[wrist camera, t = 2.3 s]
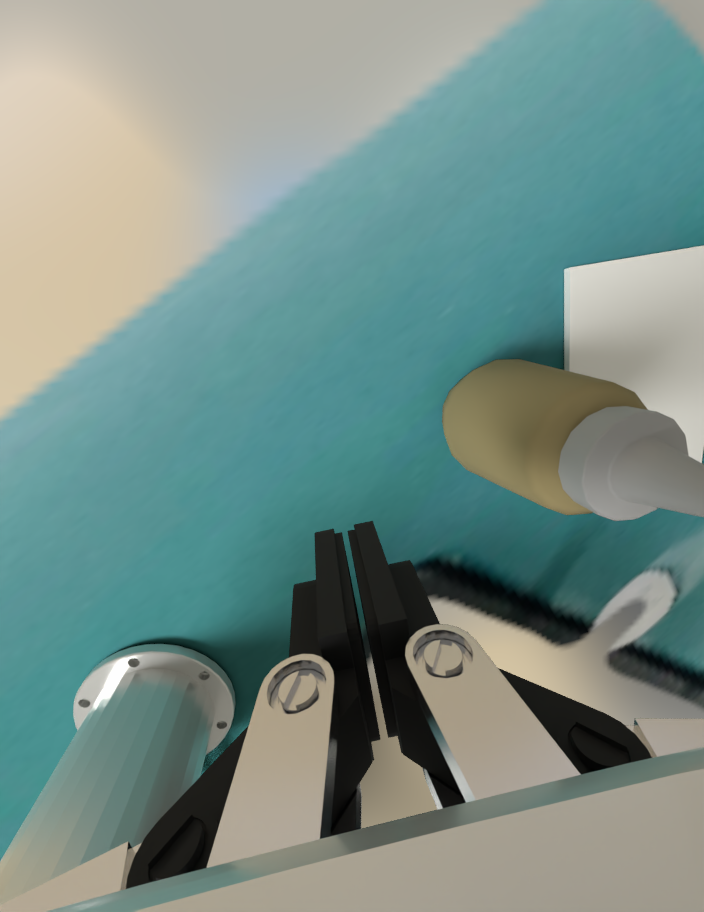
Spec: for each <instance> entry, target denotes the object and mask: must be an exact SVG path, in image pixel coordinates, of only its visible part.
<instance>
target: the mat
mask: <svg viewBox="0 0 704 912" xmlns="http://www.w3.org/2000/svg"><path fill="white" fill-rule="evenodd" d="M564 370H566V371H570V372H574V373H578V374H582V375H586V376H590V377H594V378H598V379H602V380H606V381H611V382H614V383H616V384H618V385H620V386H623V387H625V388H627V389H629V390H631V391H633V392H635V393H636V394H637V396H638V397H639V398H640V400H641V401H642V402H643V404H644V405H645V407H646V408H647V409H648V410H651V411H657V412H659V413H661V414H663V415H666V416H668V417H670V418H672V419H674V420H675V421H676V423H677V424H678V425H679V427H680V428H681V430H682V431H683V432H684V434H685V436H686V442H687V448H688V455H689V457H691V458H693V459H695V460H697V461H699V462H700V463H702V456H703V448H704V246H698V247H692V248H686V249H680V250H674V251H668V252H662V253H656V254H649V255H643V256H637V257H631V258H625V259H619V260H613V261H607V262H601V263H595V264H589V265H583V266H577V267H571V268H567V269H564Z"/></svg>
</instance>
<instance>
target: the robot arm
mask: <svg viewBox="0 0 704 912" xmlns="http://www.w3.org/2000/svg"><path fill="white" fill-rule="evenodd" d="M354 528H355V530H351V531H348V536H349V541H350V546H351V551H352V556H353V562H354V567H355V572H356V577H357V582H358V588H359V593H360V598H361V603H362V608H363V614H364V619H365V624H366V629H367V634H368V639H369V644H370V649H371V654H372V659H373V664H374V669H375V673H376V679H377V683H378V689H379V693H380V699H381V703H382V708H383V713H384V718H385V724H386V729H387V734H388V737H394V736H398V739H399V744H400V748H401V752H402V753H403V754H404V755H405V756H407V757H408V758H409V759H411V760H412V761H414V762H415V763H417V764H418V765H420V766H421V767H423V772H424V775H425V779H426V782H427V784H428V787H429V789H430V792H431V794H432V797H433V799H434V802H435V804H436V806H437V809H438V810H434V811H430V812H427V813H422V814H418V815H415V816H410V817H406V818H402V819H398V820H394V821H390V822H386V823H383V824H378V825H374V826H370V827H366V828H362V829H361V788H360V781H361V780H362V778H363V776H364V775H365V773H366V772H367V770H368V768H369V767H370V765H371V763H372V760H374V757H373V751H372V745H371V742H372V741H376V740H380V735H379V729H378V723H377V717H376V712H375V707H374V701H373V695H372V690H371V684H370V678H369V673H368V667H367V662H366V656H365V651H364V645H363V639H362V634H361V628H360V623H359V617H358V612H357V607H356V602H355V597H354V592H353V587H352V582H351V577H350V572H349V567H348V561H347V556H346V551H345V546H344V541H343V536H342V532H341V533H336V534H335V533H334V529H330V530H325V531H321V532H316V533H315V560H316V580H313V581H308V582H303V583H299V584H295V585H294V588H293V602H292V618H291V634H290V650H289V658H288V659H286V660H283V661H281V662H280V663H279V664H278V665H276V666H275V667H274V668H273V669H272V670H271V671H270V672H269V673H268V675H267V676H266V677H265V678H264V681H263V683H262V685H261V687H260V690H259V693H258V697H257V700H256V703H255V707H254V710H253V713H252V717H251V720H250V723H249V726H248V727H247V728H246V729H245V730H244V731H243V732H242V733H241V734H240V735H239V736H238V737H237V739H236V740H235V741H234V742H233V743H232V744H231V745H230V746H229V747H228V748H227V749H226V750H225V751H224V752H223V753H222V754H221V755H220V756H219V757H218V758H217V760H216V761H215V762H214V763H213V764H212V765H211V766H210V767H209V768H208V769H207V770H206V771H205V772H204V773H203V774H202V775H201V772H202V768H203V764H204V760H205V755H207V754H208V753H209V752H211V751H212V750H213V749H214V748H216V747H217V746H218V745H219V743H220V742H221V741H222V740H223V739H224V738H225V736H226V734H227V733H228V731H229V729H230V727H231V724H232V720H233V717H234V710H235V704H236V702H235V692H234V689H233V686H232V683H231V681H230V679H229V678H228V676H227V675H226V673H225V672H224V671H223V670H222V669H221V668H220V667H219V666H218V665H217V664H216V663H215V662H214V661H212V660H211V659H209V658H208V657H206V656H205V655H203V654H201V653H198V652H196V651H194V650H192V649H188V648H184V647H181V646H176V645H168V644H146V645H140V646H135V647H130V648H127V649H125V650H122V651H119V652H116V653H115V654H113V655H111V656H109V657H107V658H106V659H104V660H103V661H102V662H100V663H99V664H98V665H97V666H96V667H94V668H93V670H92V671H91V672H90V673H89V675H88V676H87V677H86V679H85V680H84V682H83V684H82V685H81V687H80V688H79V690H78V692H77V694H76V697H75V700H74V708H73V716H74V721H75V725H76V728H77V730H78V731H77V733H76V734H75V736H74V738H73V739H72V741H71V743H70V745H69V746H68V748H67V750H66V751H65V753H64V755H63V756H62V758H61V760H60V761H59V763H58V765H57V766H56V768H55V770H54V772H53V773H52V775H51V777H50V778H49V780H48V782H47V783H46V785H45V787H44V788H43V790H42V792H41V793H40V795H39V797H38V799H37V800H36V802H35V804H34V805H33V807H32V809H31V810H30V812H29V814H28V815H27V817H26V819H25V821H24V822H23V824H22V826H21V827H20V829H19V831H18V832H17V834H16V836H15V837H14V839H13V841H12V842H11V844H10V846H9V848H8V849H7V851H6V853H5V854H4V856H3V858H2V859H1V861H0V912H704V719H661V718H659V719H657V718H635V721H634V725H624V724H622V723H621V722H620V721H618V720H616V719H614V718H612V717H611V716H609V715H607V714H605V713H603V712H600V711H598V710H595V709H593V708H591V707H589V706H586V705H584V704H582V703H579V702H577V701H574V700H572V699H570V698H567V697H565V696H563V695H560V694H558V693H556V692H553V691H551V690H548V689H546V688H544V687H541V686H539V685H537V684H534V683H532V682H529V681H527V680H525V679H523V678H520V677H518V676H516V675H513V674H511V673H508V672H506V671H504V670H501V669H499V668H497V667H496V665H495V664H494V663H493V661H492V660H491V659H490V658H489V656H488V655H487V654H486V653H485V651H484V650H483V649H482V647H481V646H480V645H479V644H478V642H477V641H476V640H475V639H474V638H473V637H472V636H471V635H470V634H469V633H468V632H466V631H464V630H462V629H460V628H458V627H455V626H450V625H443V624H439V621H438V619H437V617H436V615H435V613H434V611H433V608H432V606H431V604H430V602H429V599H428V597H427V595H426V593H425V591H424V589H423V586H422V584H421V582H420V580H419V578H418V576H417V573H416V571H415V569H414V567H413V565H412V563H411V561H410V560H408V561H403V562H398V563H394V564H389V565H388V563H387V561H386V558H385V555H384V552H383V549H382V546H381V544H380V541H379V538H378V535H377V532H376V529H375V527H374V524H373V521H370V522H365V523H360V524H355V525H354Z"/></svg>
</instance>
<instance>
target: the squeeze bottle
mask: <svg viewBox="0 0 704 912" xmlns="http://www.w3.org/2000/svg"><path fill="white" fill-rule="evenodd" d="M442 423H443V429H444V434H445V437H446V440H447V443H448V445H449V448H450V451H451V453H452V455H453V456H454V457H455V458H456V459H457V460H458V461H459V462H460V463H461V464H462V465H463V466H464V467H465V468H466V469H467V470H468V471H470V472H473V473H475V474H477V475H479V476H481V477H483V478H485V479H487V480H489V481H491V482H493V483H495V484H498V485H500V486H502V487H504V488H506V489H508V490H510V491H512V492H514V493H516V494H518V495H520V496H523V497H525V498H527V499H529V500H531V501H533V502H535V503H537V504H539V505H541V506H543V507H545V508H548V509H551V510H554V511H557V512H560V513H562V514H565V515H575V514H588V513H593V512H594V513H595V514H597V515H600V516H603V517H605V518H608V519H611V520H614V521H620V520H633V519H637V518H639V517H641V516H643V515H645V514H648V513H650V512H652V511H654V510H656V509H657V508H662V509H667V510H672V511H677V512H681V513H686V514H691V515H695V516H700V517H704V464H702V463H700V462H699V461H697V460H695V459H693V458H691V457H689V455H688V448H687V442H686V436H685V434H684V432H683V431H682V430H681V428H680V427H679V425H678V424H677V423H676V421H675V420H674V419H672V418H670V417H668V416H666V415H663V414H661V413H659V412H657V411H651V410H648V409H647V408H646V407H645V405H644V404H643V402H642V401H641V400H640V398H639V397H638V396H637V394H636V393H635V392H633V391H631V390H629V389H627V388H625V387H623V386H620V385H618V384H616V383H614V382H611V381H606V380H602V379H598V378H594V377H590V376H586V375H582V374H578V373H574V372H570V371H566V370H562V369H557V368H553V367H549V366H545V365H541V364H537V363H533V362H529V361H525V360H521V359H504V360H494V361H492V362H490V363H488V364H486V365H483V366H481V367H479V368H477V369H475V370H473V371H472V372H470V373H469V374H468V375H466V376H465V377H464V378H462V379H461V380H460V381H459V382H458V383H457V384H456V385H455V386H454V387H453V388H452V389H451V390H450V391H449V393H448V396H447V398H446V400H445V402H444V405H443V415H442Z"/></svg>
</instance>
